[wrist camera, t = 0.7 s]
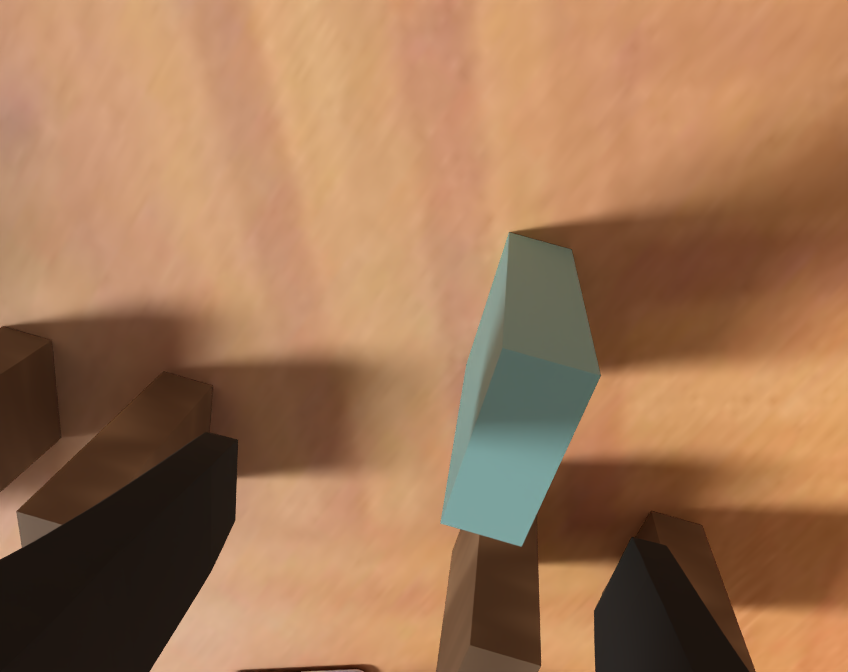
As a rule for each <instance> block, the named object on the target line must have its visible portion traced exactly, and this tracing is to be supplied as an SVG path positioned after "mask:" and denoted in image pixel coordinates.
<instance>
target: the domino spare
mask: <svg viewBox="0 0 848 672" xmlns="http://www.w3.org/2000/svg"><path fill="white" fill-rule="evenodd" d="M600 376H601V374H600V370H599V366H598V361H597V357H596V353H595V348H594V344H593V340H592V335H591V331H590V327H589V322H588V318H587V314H586V310H585V305H584V301H583V297H582V292H581V288H580V284H579V279H578V275H577V271H576V266H575V262H574V258H573V253H572V249H568V248H564V247H561V246H557V245H554V244H550V243H546V242H543V241H539V240H536V239H532V238H528V237H525V236H521V235H518V234H514V233H510V232H509V234H508V237H507V240H506V243H505V247H504V250H503V253H502V256H501V259H500V262H499V265H498V268H497V271H496V274H495V278H494V281H493V284H492V287H491V290H490V293H489V296H488V299H487V302H486V305H485V309H484V312H483V315H482V318H481V321H480V324H479V327H478V330H477V333H476V336H475V340H474V343H473V346H472V349H471V352H470V355H469V358H468V361H467V364H466V370H465V376H464V382H463V388H462V395H461V401H460V407H459V413H458V419H457V425H456V431H455V438H454V444H453V450H452V456H451V462H450V468H449V474H448V480H447V487H446V493H445V499H444V505H443V511H442V517H441V524H444V525H448V526H451V527H455V528H458V529H462V530H465V531H469V532H472V533H476V534H479V535H483V536H486V537H490V538H493V539H497V540H500V541H503V542H507V543H510V544H514V545H517V546H521V547H522V545H523V543H524V540H525V538H526V536H527V534H528V532H529V530H530V527H531V525H532V523H533V521H534V519H535V517H536V514H537V512H538V510H539V508H540V506H541V504H542V502H543V499H544V497H545V495H546V493H547V491H548V489H549V486H550V484H551V482H552V480H553V478H554V476H555V473H556V471H557V469H558V467H559V465H560V463H561V461H562V458H563V456H564V454H565V452H566V450H567V448H568V445H569V443H570V441H571V439H572V437H573V435H574V432H575V430H576V428H577V426H578V424H579V422H580V420H581V417H582V415H583V413H584V411H585V409H586V407H587V404H588V402H589V400H590V398H591V396H592V394H593V391H594V389H595V387H596V385H597V383H598V381H599V379H600Z"/></svg>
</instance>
